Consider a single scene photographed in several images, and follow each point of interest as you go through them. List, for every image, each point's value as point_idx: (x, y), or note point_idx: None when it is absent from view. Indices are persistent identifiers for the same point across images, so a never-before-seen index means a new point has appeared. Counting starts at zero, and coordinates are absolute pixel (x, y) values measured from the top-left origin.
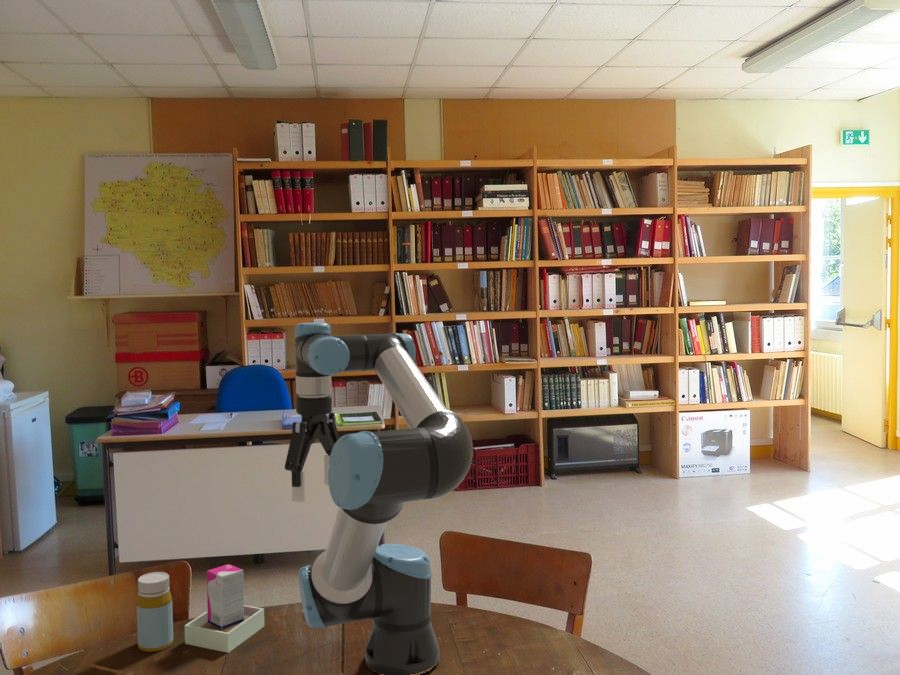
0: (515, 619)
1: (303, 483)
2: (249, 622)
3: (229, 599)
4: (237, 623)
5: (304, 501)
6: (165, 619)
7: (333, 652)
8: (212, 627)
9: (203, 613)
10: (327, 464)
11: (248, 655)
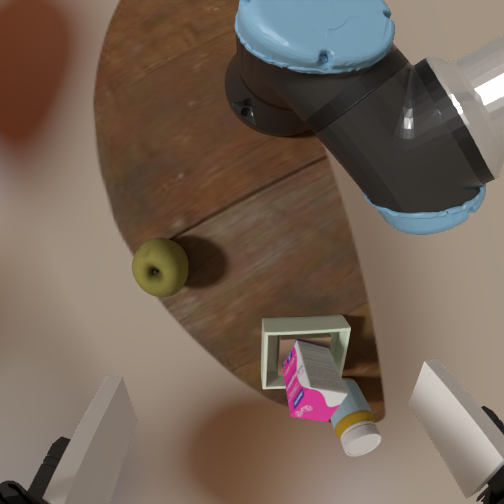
0: (116, 14)
1: (481, 410)
2: (301, 328)
3: (326, 366)
4: (306, 340)
5: (431, 360)
6: (357, 398)
7: (294, 187)
8: None
9: None
10: (102, 489)
11: (336, 292)
